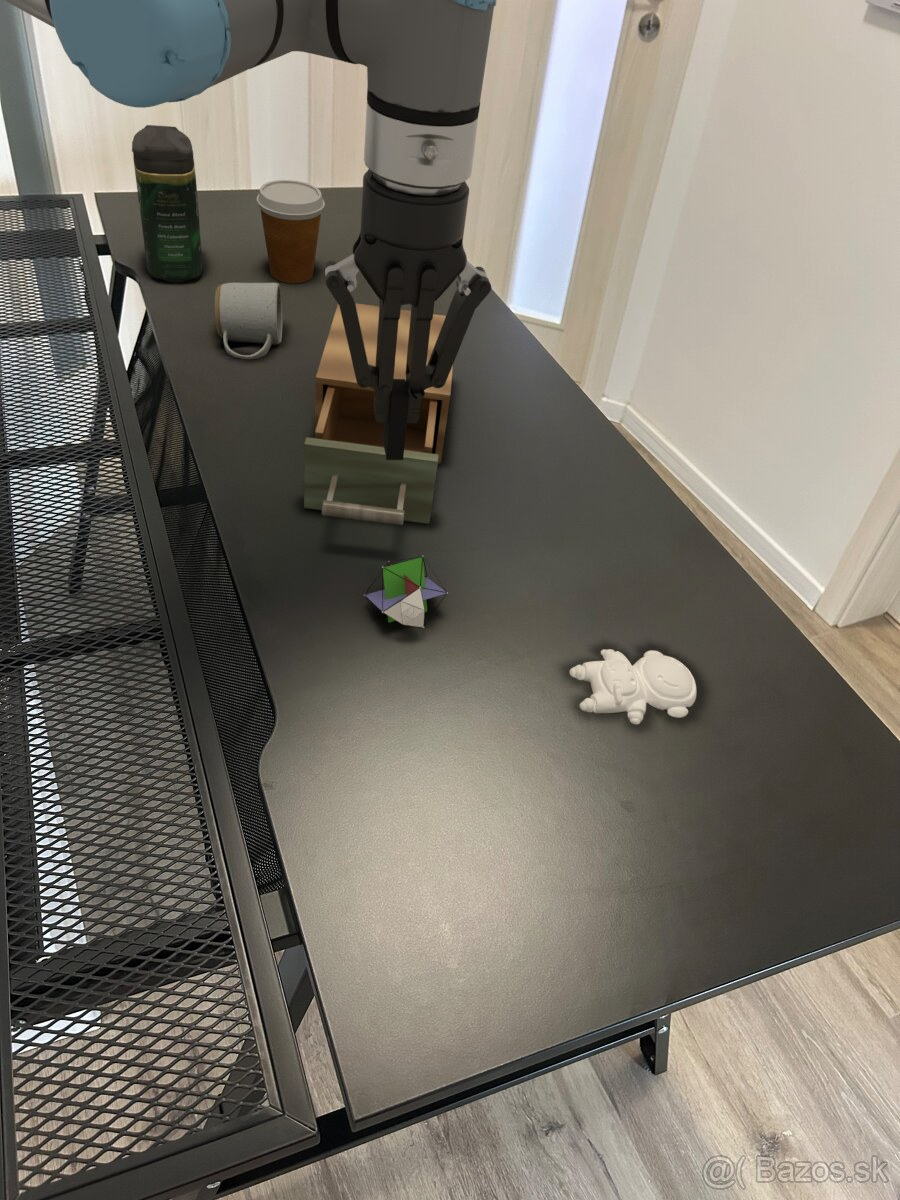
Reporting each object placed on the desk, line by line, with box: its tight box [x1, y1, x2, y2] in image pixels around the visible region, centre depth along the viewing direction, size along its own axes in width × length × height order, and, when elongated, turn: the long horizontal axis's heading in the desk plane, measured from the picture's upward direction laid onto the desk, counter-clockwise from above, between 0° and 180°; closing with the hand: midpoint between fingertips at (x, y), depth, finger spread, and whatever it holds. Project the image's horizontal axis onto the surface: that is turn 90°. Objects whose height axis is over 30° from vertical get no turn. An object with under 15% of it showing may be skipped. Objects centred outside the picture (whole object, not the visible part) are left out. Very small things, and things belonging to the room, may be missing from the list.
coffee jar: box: [131, 124, 203, 283], centre depth 118 cm, size 10×8×19 cm
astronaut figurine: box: [569, 648, 697, 725], centre depth 78 cm, size 9×12×3 cm
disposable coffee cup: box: [256, 179, 326, 284], centre depth 124 cm, size 10×10×12 cm
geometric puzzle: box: [363, 555, 449, 631], centre depth 80 cm, size 7×7×8 cm
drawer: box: [303, 385, 439, 526], centre depth 91 cm, size 22×13×8 cm, turn 177°
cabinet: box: [314, 302, 454, 464], centre depth 102 cm, size 18×15×10 cm
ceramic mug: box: [214, 282, 284, 360], centre depth 110 cm, size 11×8×8 cm
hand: (392, 450), depth 76 cm, fingers closed
